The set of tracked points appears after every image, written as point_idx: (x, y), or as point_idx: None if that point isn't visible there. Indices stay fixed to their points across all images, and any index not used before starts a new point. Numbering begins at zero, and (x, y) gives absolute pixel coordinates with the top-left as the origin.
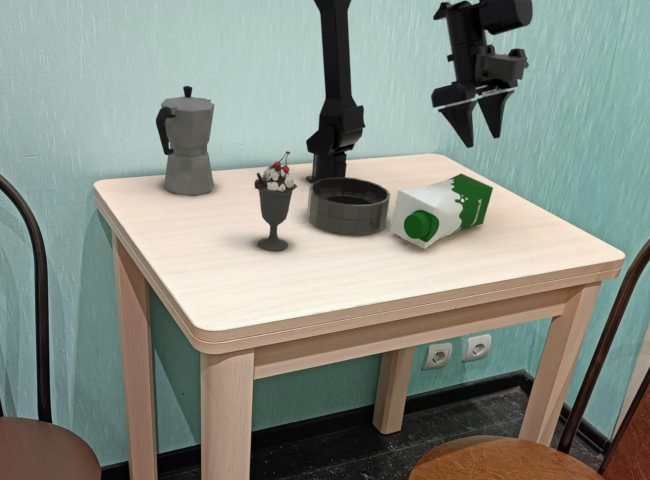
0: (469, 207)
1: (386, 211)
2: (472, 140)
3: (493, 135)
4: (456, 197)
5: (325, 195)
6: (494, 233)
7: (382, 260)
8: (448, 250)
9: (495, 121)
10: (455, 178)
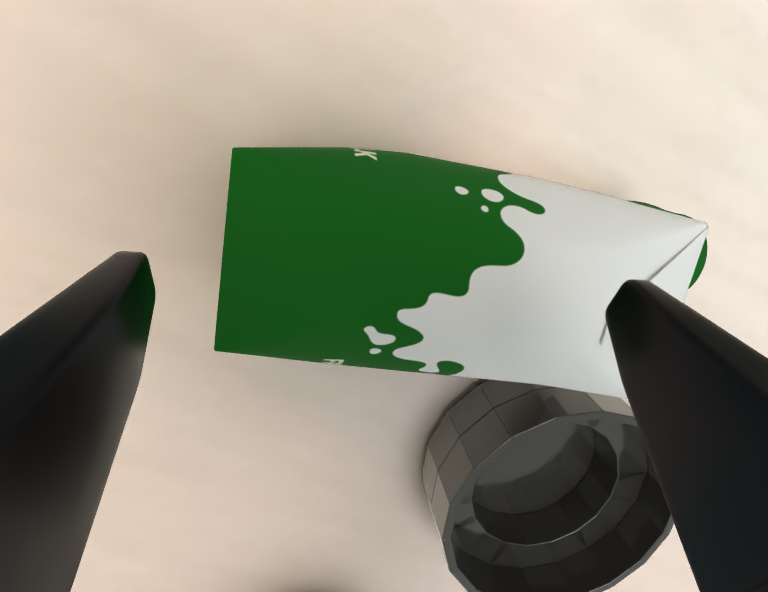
0: (447, 165)
1: (544, 393)
2: (682, 305)
3: (151, 312)
4: (529, 216)
5: (523, 555)
6: (270, 80)
7: (712, 257)
8: (539, 147)
9: (83, 399)
10: (370, 316)
